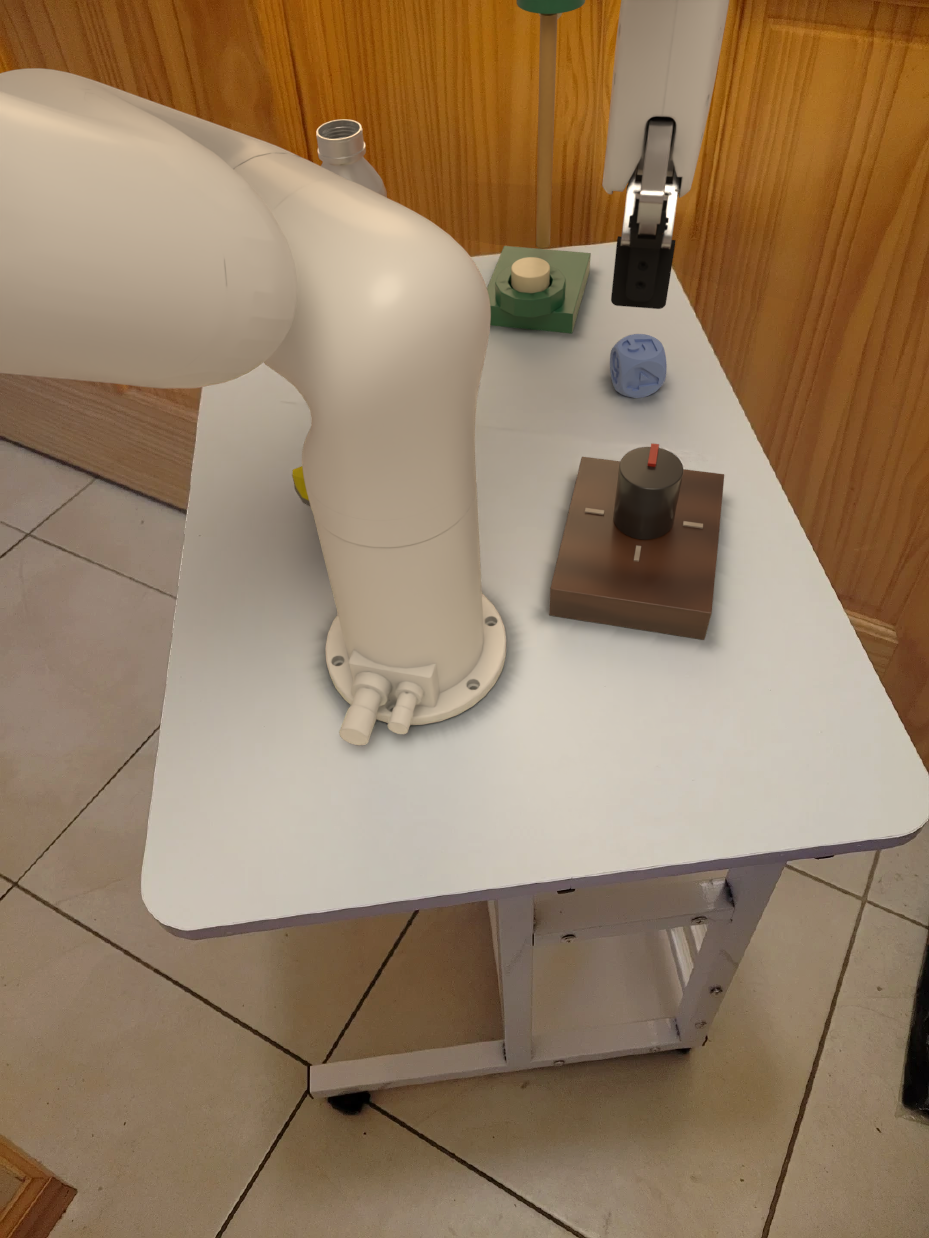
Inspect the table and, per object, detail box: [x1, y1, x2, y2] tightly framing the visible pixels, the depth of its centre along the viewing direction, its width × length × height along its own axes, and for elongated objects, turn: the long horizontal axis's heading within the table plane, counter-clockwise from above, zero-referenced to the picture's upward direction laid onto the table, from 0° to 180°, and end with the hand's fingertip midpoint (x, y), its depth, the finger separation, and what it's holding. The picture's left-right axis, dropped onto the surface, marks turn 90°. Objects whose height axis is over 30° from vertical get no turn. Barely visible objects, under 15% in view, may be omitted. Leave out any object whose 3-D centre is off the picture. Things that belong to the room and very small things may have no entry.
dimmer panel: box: [548, 456, 725, 641], centre depth 66 cm, size 14×11×3 cm
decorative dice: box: [609, 333, 668, 399], centre depth 79 cm, size 4×4×4 cm
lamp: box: [516, 0, 586, 249], centre depth 79 cm, size 6×6×26 cm
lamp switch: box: [511, 257, 550, 293], centre depth 84 cm, size 4×4×2 cm
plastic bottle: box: [315, 118, 388, 198], centre depth 78 cm, size 6×7×20 cm
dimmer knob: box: [613, 443, 684, 540], centre depth 64 cm, size 4×4×5 cm
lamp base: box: [486, 245, 592, 334], centre depth 88 cm, size 12×9×4 cm
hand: (643, 262), depth 56 cm, fingers open, 9 cm apart
